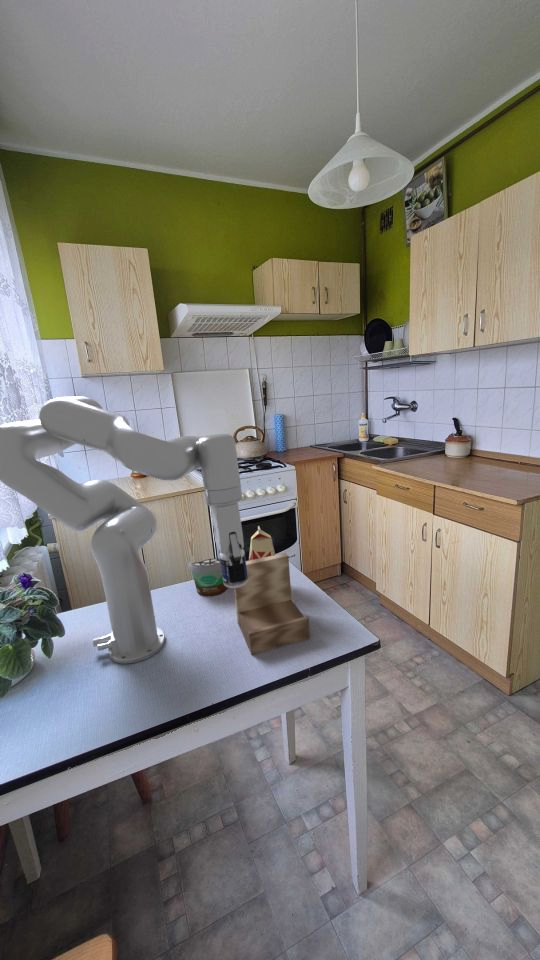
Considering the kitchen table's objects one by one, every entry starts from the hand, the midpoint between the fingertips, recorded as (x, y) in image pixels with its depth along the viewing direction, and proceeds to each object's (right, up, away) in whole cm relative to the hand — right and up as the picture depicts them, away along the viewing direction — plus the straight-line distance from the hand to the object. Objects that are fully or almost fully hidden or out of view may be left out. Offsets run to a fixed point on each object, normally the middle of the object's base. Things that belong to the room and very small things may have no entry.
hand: (234, 574), depth 83 cm
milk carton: (+6, -12, +28) cm, 31 cm away
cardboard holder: (+8, -16, +9) cm, 20 cm away
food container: (-9, -13, +29) cm, 33 cm away
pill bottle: (0, -2, 0) cm, 2 cm away
